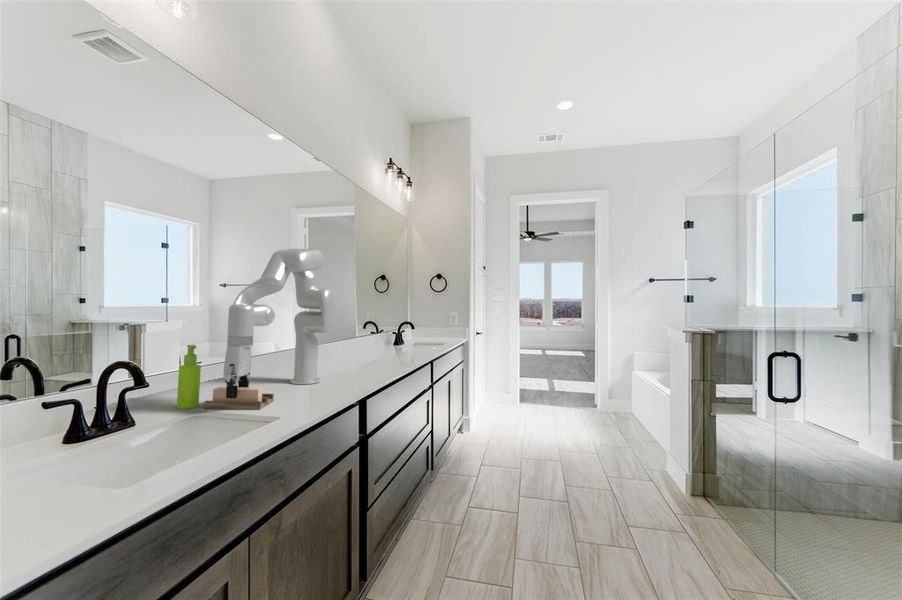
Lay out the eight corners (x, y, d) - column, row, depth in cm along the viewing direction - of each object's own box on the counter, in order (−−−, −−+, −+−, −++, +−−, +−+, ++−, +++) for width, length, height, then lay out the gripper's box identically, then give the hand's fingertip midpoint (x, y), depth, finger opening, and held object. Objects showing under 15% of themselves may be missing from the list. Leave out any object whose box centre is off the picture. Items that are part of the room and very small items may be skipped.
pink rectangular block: (217, 402, 127) (218, 387, 127) (261, 402, 128) (262, 387, 128) (212, 404, 123) (213, 389, 124) (257, 405, 125) (258, 389, 125)
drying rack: (222, 400, 134) (223, 393, 134) (273, 400, 135) (273, 393, 135) (204, 409, 122) (204, 401, 122) (260, 409, 123) (260, 401, 123)
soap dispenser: (178, 410, 119) (181, 346, 120) (175, 405, 125) (179, 344, 125) (200, 407, 123) (203, 345, 124) (197, 403, 128) (200, 343, 129)
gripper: (240, 339, 135) (237, 389, 134) (214, 343, 117) (211, 401, 117) (262, 339, 135) (259, 389, 135) (240, 344, 118) (237, 401, 117)
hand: (237, 394), depth 126 cm, fingers open, 7 cm apart
